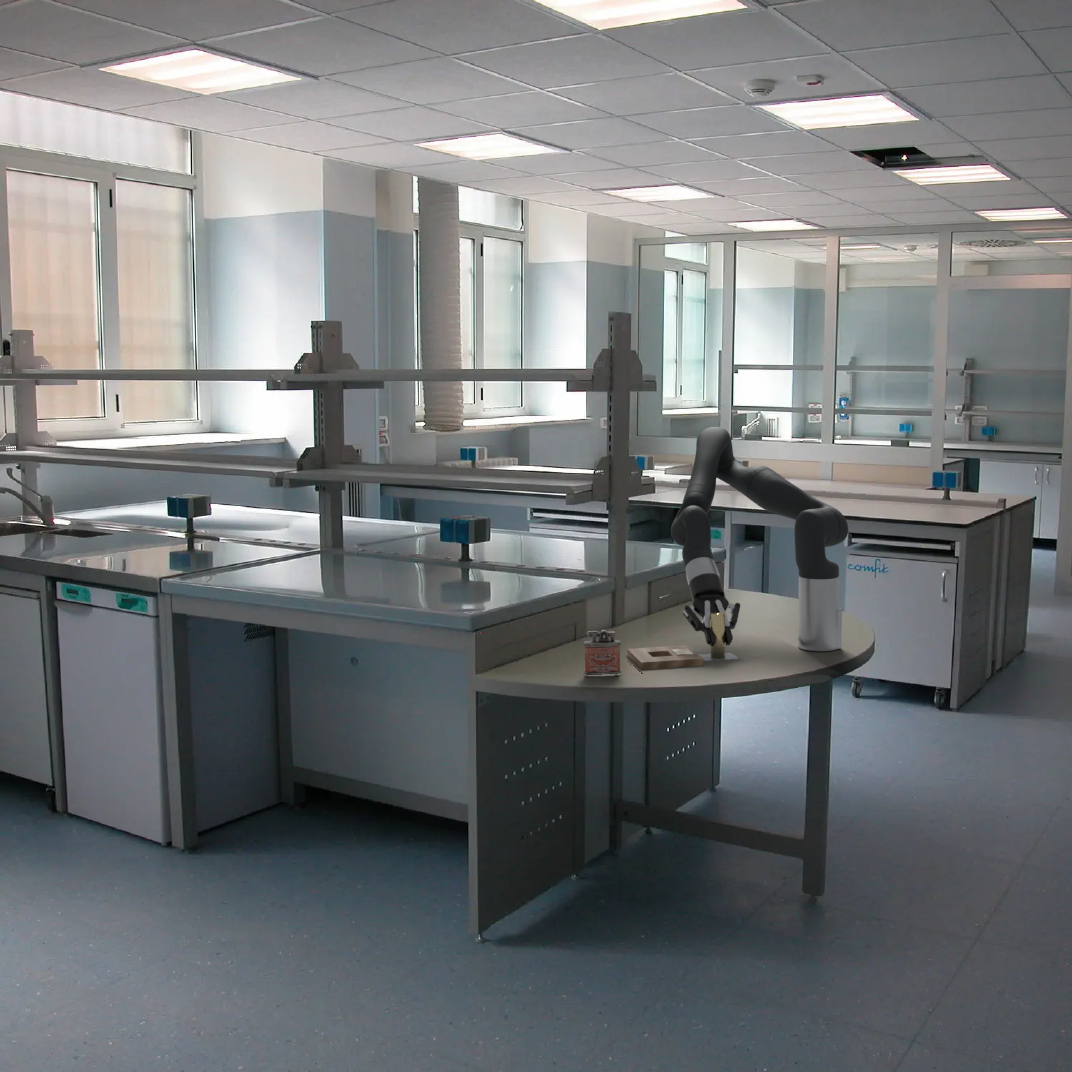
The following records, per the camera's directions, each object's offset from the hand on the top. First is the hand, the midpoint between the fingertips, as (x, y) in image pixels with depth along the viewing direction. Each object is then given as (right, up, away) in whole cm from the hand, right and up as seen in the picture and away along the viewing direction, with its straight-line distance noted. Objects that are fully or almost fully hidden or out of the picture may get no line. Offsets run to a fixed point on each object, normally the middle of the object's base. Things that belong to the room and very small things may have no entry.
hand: (720, 643), depth 252 cm
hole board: (-13, -5, +1) cm, 14 cm away
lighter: (-27, -7, -5) cm, 28 cm away
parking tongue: (0, -5, +3) cm, 5 cm away
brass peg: (0, -3, +2) cm, 4 cm away
